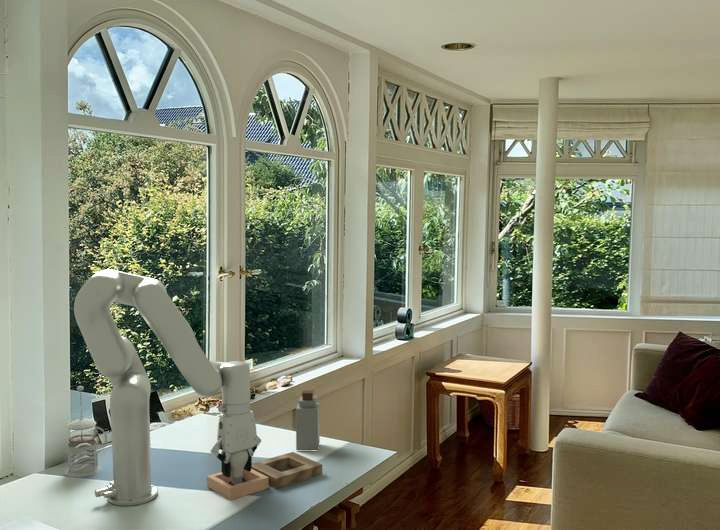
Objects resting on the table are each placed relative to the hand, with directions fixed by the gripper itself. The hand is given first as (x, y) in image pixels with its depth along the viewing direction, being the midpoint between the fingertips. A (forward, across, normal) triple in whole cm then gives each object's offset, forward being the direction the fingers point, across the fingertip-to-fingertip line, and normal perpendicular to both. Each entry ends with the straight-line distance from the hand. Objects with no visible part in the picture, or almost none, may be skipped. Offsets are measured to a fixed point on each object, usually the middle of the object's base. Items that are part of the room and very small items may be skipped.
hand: (236, 472), depth 196 cm
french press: (+5, -26, +40) cm, 48 cm away
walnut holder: (+4, +15, -1) cm, 16 cm away
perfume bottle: (+4, +34, +13) cm, 37 cm away
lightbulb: (+4, 0, 0) cm, 4 cm away
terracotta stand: (+4, 0, 0) cm, 4 cm away
